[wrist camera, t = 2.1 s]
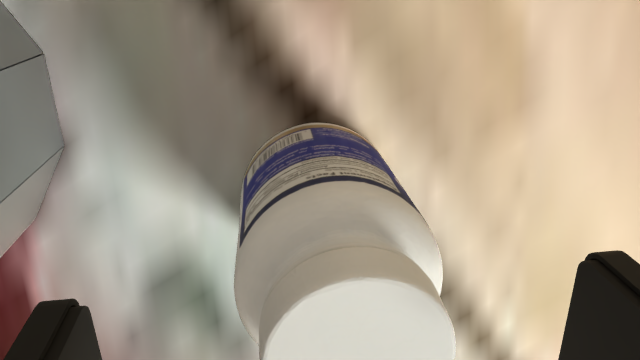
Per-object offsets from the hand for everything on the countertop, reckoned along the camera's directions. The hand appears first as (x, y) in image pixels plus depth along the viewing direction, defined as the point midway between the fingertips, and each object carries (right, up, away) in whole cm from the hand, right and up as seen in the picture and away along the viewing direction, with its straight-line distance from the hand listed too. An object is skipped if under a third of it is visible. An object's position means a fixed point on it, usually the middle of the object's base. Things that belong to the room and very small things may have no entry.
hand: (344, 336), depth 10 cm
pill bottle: (-1, +3, +9) cm, 9 cm away
